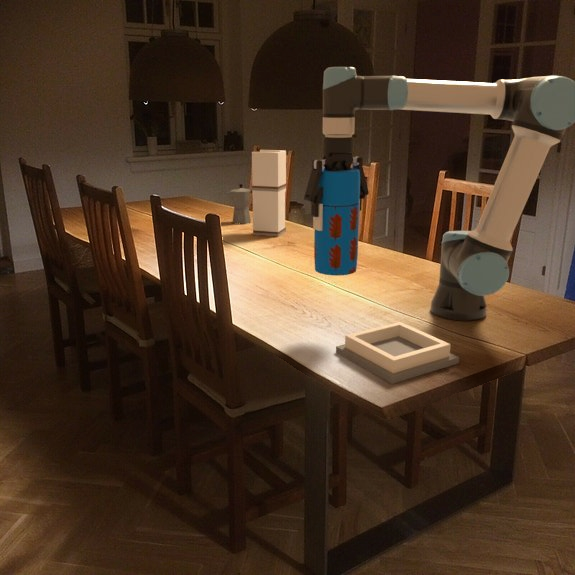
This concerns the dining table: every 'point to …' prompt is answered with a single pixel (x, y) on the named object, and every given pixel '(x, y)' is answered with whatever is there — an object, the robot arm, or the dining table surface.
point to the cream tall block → (269, 192)
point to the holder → (397, 352)
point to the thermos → (338, 223)
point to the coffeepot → (241, 204)
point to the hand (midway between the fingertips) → (336, 227)
